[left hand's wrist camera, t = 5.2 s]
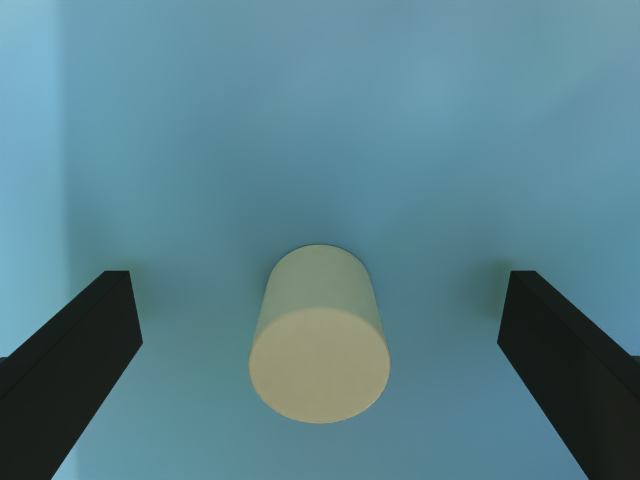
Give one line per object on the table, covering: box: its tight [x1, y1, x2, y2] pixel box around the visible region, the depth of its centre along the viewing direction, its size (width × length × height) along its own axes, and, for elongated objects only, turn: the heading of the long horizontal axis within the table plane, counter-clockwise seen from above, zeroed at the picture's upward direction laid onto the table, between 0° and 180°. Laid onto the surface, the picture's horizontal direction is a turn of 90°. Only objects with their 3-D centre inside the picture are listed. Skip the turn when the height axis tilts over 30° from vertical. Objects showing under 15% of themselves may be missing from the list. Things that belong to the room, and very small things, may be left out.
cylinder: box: [248, 245, 391, 424], centre depth 12 cm, size 4×4×4 cm
